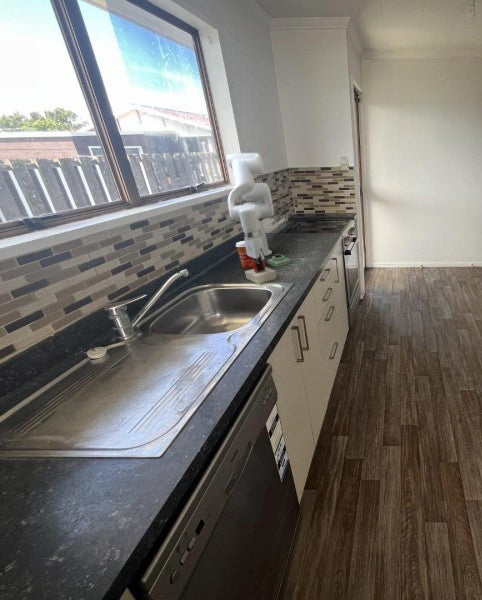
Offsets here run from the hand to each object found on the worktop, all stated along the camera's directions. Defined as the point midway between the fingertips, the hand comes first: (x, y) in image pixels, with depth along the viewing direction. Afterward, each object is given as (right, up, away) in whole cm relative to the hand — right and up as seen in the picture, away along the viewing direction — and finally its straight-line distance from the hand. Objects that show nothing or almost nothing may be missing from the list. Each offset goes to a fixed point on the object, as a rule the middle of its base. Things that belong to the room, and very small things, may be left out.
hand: (259, 269), depth 166 cm
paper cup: (-15, +3, +19) cm, 24 cm away
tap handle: (0, -1, 0) cm, 1 cm away
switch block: (+1, +6, +23) cm, 24 cm away
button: (+1, +9, +22) cm, 24 cm away
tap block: (0, -4, +2) cm, 5 cm away
